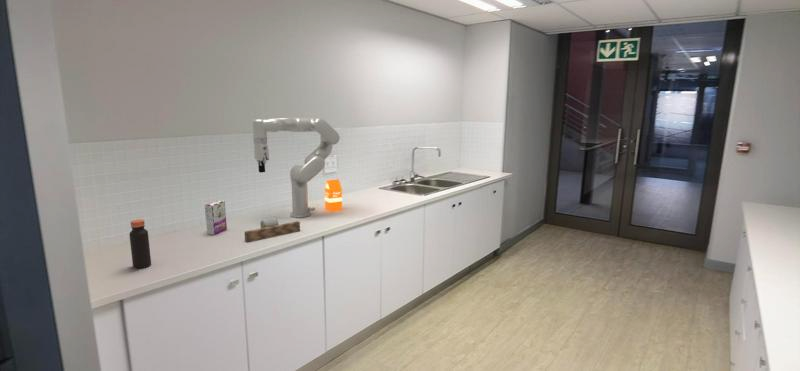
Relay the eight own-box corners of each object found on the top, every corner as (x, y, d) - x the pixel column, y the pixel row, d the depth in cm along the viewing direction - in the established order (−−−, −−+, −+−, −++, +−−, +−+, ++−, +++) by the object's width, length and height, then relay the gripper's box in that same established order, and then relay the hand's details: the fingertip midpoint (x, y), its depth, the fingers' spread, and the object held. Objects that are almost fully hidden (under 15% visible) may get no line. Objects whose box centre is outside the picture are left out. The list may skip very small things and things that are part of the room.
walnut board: (297, 229, 240) (297, 221, 239) (300, 230, 238) (299, 222, 237) (245, 241, 220) (244, 231, 219) (247, 242, 218) (246, 232, 217)
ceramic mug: (259, 231, 236) (259, 217, 235) (274, 228, 241) (273, 215, 239) (266, 236, 228) (266, 222, 226) (281, 233, 233) (281, 220, 231)
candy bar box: (219, 228, 240) (217, 200, 237) (227, 229, 239) (225, 200, 236) (206, 234, 229) (204, 204, 226) (214, 235, 228) (212, 205, 225)
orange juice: (342, 209, 285) (341, 180, 281) (330, 211, 280) (329, 181, 276) (336, 207, 291) (336, 178, 287) (324, 209, 286) (324, 179, 282)
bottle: (142, 262, 189) (138, 218, 186) (155, 264, 188) (150, 219, 184) (129, 267, 183) (123, 222, 179) (141, 269, 181) (136, 223, 177)
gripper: (272, 141, 246) (273, 173, 250) (260, 139, 257) (262, 170, 261) (259, 142, 241) (261, 174, 245) (248, 140, 252) (250, 171, 256)
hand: (262, 172), depth 253 cm, fingers closed
